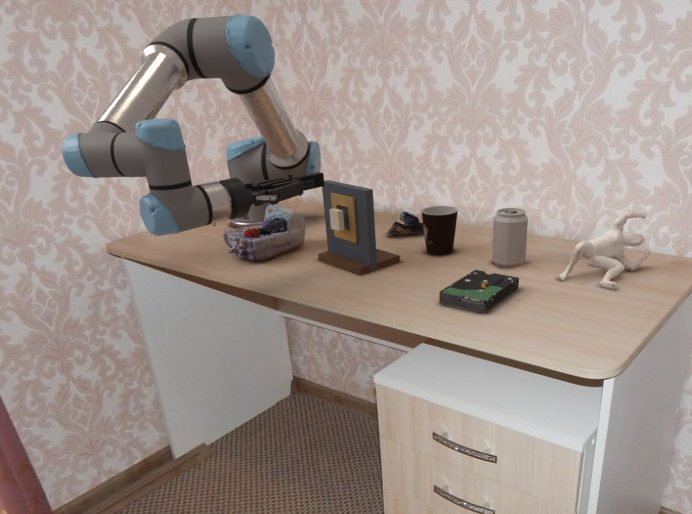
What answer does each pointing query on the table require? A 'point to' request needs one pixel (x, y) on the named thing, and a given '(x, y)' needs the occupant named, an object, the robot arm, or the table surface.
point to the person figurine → (609, 251)
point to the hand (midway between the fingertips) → (321, 179)
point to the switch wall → (353, 230)
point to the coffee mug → (439, 229)
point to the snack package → (406, 225)
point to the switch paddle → (336, 219)
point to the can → (509, 237)
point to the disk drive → (479, 291)
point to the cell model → (268, 234)
